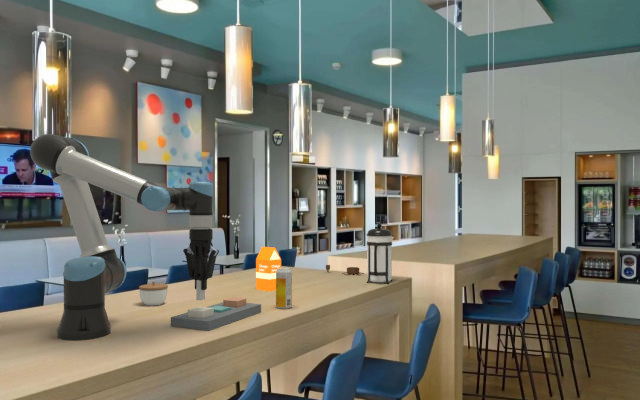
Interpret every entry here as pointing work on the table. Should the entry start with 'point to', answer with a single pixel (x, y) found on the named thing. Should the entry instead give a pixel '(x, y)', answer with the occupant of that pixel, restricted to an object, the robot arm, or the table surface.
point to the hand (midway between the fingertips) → (200, 299)
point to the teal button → (221, 309)
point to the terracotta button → (234, 302)
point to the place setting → (349, 270)
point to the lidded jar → (153, 294)
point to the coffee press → (379, 255)
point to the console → (216, 317)
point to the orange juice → (267, 268)
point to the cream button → (200, 312)
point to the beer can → (283, 288)
